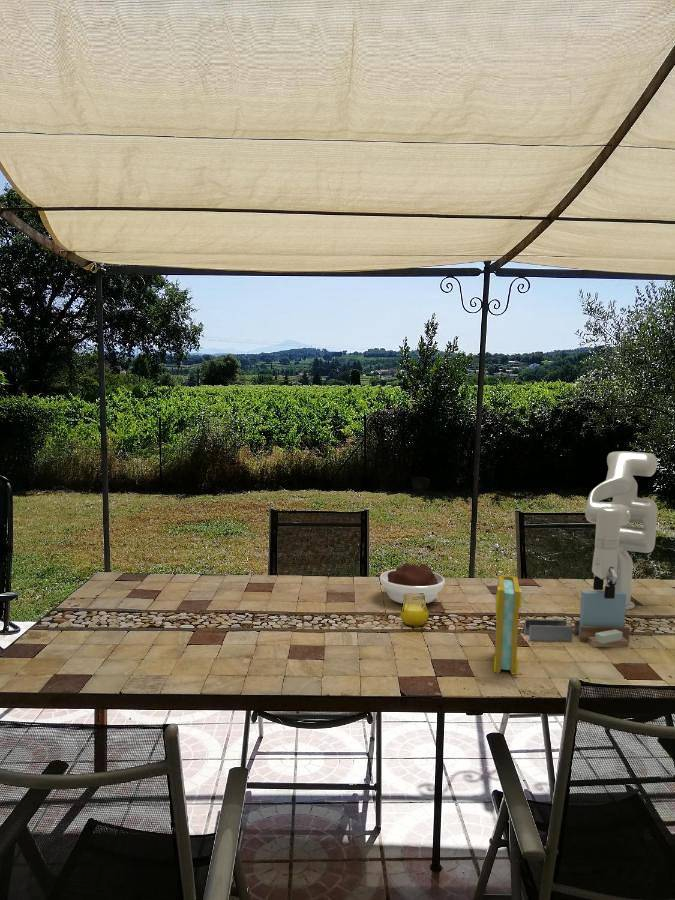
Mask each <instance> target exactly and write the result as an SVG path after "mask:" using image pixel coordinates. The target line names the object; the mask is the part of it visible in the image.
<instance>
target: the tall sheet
mask: <svg viewBox="0 0 675 900" xmlns="http://www.w3.org/2000/svg"><path fill="white" fill-rule="evenodd" d="M580 592H581V593H580V607H579V609H580V611H579V620H580V623H579V635H578V637H579V638H580V630H581V626H599V627H625V619H626V610H625V607H626V594H625V593H624V592H623V591H615V598H614V599H606V598H604V593H605V590H581V591H580Z"/></svg>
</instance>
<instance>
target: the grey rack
mask: <svg viewBox="0 0 675 900" xmlns="http://www.w3.org/2000/svg"><path fill="white" fill-rule="evenodd" d="M567 623H568V621H567V620H566V619H547V618H546V619H544V618H542V619H540V618H538V619H537V618H525V619H524V631H523V632H524V635H529V638H528V640H529V641H530V642H532V640H533V642H569V643H570V642H573V633H574V626H572V625H568V624H567Z"/></svg>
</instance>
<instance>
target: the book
mask: <svg viewBox="0 0 675 900" xmlns="http://www.w3.org/2000/svg"><path fill="white" fill-rule="evenodd" d="M497 579H498V583H497V592H496V595H495V619H496V621H495V623H496V624H495V641H494V642H495V643H494V644H495V645H494V657H493V658H494V659H493V661H494V662H493V673H495V672H501V670H506V671H510V672H511V673H514V674H517V675H518V666H519V657H517V653H518V637H519V635H518V633H519V618H520V617H519V616H520V615H519V614H520V609H521V607H522V588H520V585H519V584H520V583H519V579H518V577H517V576H513V575H505V574H503V575H499V576H498V578H497ZM514 674H513V675H514Z"/></svg>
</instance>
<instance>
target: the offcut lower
mask: <svg viewBox="0 0 675 900" xmlns="http://www.w3.org/2000/svg"><path fill="white" fill-rule="evenodd" d="M587 644H588V645H589V646H591V647H592V648H627V647H629V643H628V640H627V639H625V638H624V637H622V640H618V641H613V642H608V643H603V644H602V643H599V642H597V641H595V637H588V642H587Z"/></svg>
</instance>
